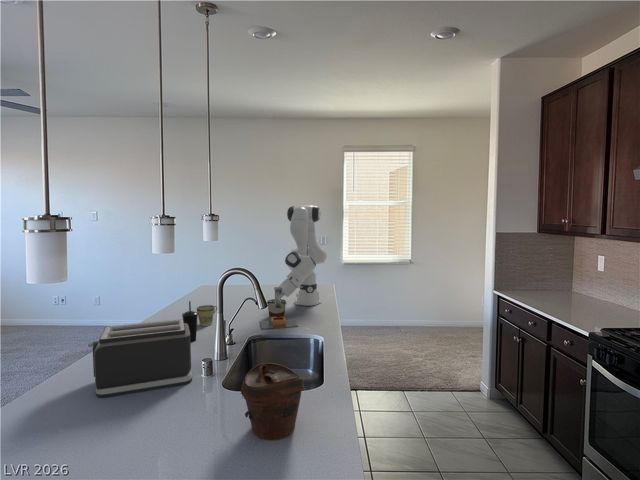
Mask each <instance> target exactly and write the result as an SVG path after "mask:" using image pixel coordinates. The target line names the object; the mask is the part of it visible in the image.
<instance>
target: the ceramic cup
mask: <svg viewBox="0 0 640 480" xmlns="http://www.w3.org/2000/svg"><path fill="white" fill-rule="evenodd" d="M217 310H218V306H217V305H212V304H205V305H199V306H196V312H197V313H198V317H197V318H198V321H199V325H200V326H202V327H204V326H205V327H207V326H210V325H212V324H213V320H214V314H215V313H216V312H217Z"/></svg>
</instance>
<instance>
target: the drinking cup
mask: <svg viewBox="0 0 640 480" xmlns="http://www.w3.org/2000/svg"><path fill="white" fill-rule="evenodd" d="M191 305H192V304H191V300H190V301H188V306H189V307H188V309H189V310H188V311H185V312H183V313H182V314H181V316H182V319H183V320H184V323H186V324H188V326H189V331H190V343H194V342H196V341H197V330H198V329H197V327H198V318H199V317H198V313H197V311H194V310H192V309H191V308H192V307H191Z"/></svg>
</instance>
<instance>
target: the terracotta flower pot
mask: <svg viewBox="0 0 640 480" xmlns="http://www.w3.org/2000/svg"><path fill="white" fill-rule="evenodd" d="M303 391H304V392H305V391H306V388H305V384H304V379H303V378H302V376H301V375H300V374H298V373H297V372H296V371H295V370H293V369H291V368H289V367H287V366H285V365H283V364H280V363H279V364H278V363H274V362H264V363H260V364H259V363H258V364H256V365H255V366H254V367H252V368H251V369H250V370H248V371H247V373H246V375H244V377H243V380H242V384H241V389H240V395H242V397H241V399H244V400H245V404H246V407H247V410H246V412H245V413H244V415H245V418H248V419H249V421H250V424H251V425H250V426H251V430H252V432H253V434H254V435H256V437H258V438H261V439H263V440H268V441H273V440H274V441H275V440H280V439H283V438H286V437H288V436H290V435H291V434H292V433H293V432H294V430H295V428H296V422H297V418H298V417H297V416H298V413H299V412H298V411H299V407H300V402H301V398H302V392H303Z"/></svg>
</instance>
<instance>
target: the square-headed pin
mask: <svg viewBox="0 0 640 480" xmlns="http://www.w3.org/2000/svg"><path fill="white" fill-rule="evenodd" d="M273 290H274V299H275V308H281V299H282V298H280V299H279V300H278V299H277V296H278V295H280V294H281V290H282V288H281V287H279V286H275V287H273Z"/></svg>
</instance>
